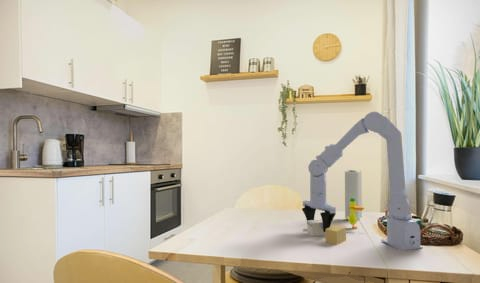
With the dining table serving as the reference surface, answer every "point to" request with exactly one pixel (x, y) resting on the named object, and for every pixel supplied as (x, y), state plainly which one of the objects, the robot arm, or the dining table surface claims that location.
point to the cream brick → (315, 227)
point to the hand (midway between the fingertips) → (318, 229)
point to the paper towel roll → (353, 192)
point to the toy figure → (353, 212)
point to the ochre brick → (335, 234)
